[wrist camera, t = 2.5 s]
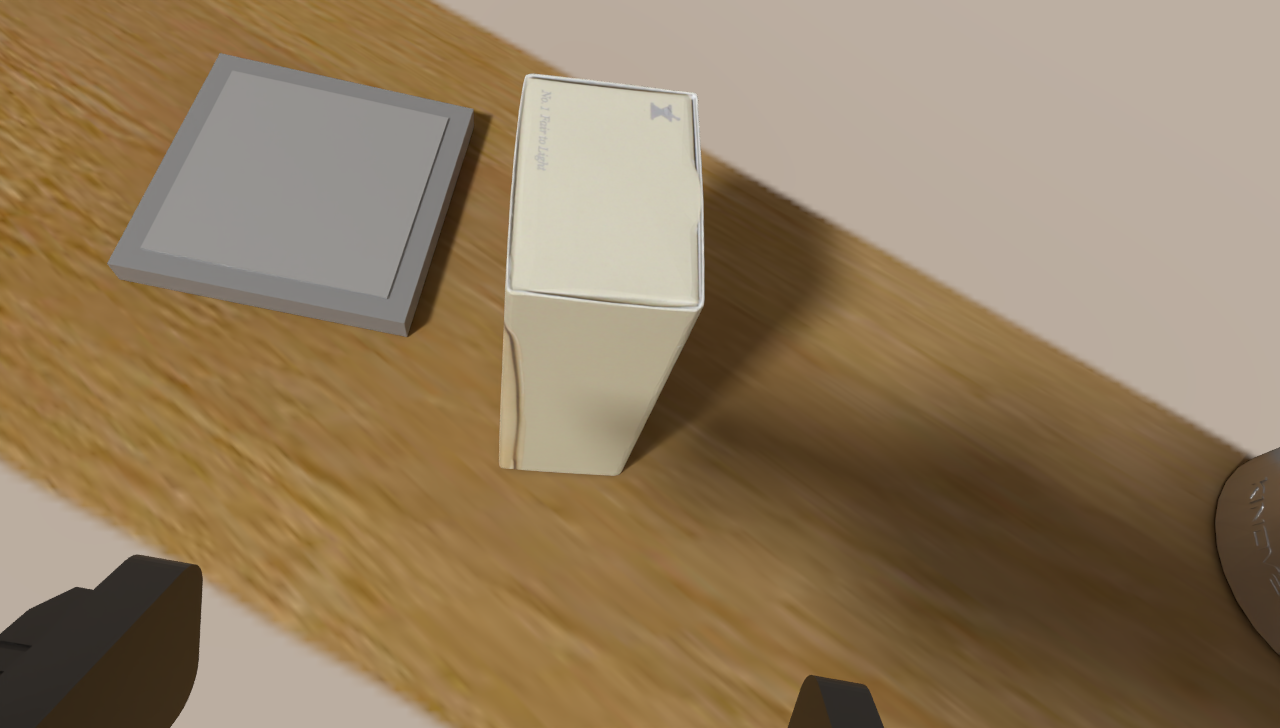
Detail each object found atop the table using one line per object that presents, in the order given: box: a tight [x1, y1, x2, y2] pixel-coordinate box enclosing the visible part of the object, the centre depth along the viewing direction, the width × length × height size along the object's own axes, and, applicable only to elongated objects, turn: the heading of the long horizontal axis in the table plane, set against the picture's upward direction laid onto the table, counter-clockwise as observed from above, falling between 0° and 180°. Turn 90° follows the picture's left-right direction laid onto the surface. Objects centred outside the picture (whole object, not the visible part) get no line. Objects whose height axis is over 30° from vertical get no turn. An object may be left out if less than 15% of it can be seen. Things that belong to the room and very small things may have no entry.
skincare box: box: [499, 74, 704, 476], centre depth 24 cm, size 6×4×12 cm
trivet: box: [107, 53, 474, 337], centre depth 30 cm, size 10×10×1 cm
